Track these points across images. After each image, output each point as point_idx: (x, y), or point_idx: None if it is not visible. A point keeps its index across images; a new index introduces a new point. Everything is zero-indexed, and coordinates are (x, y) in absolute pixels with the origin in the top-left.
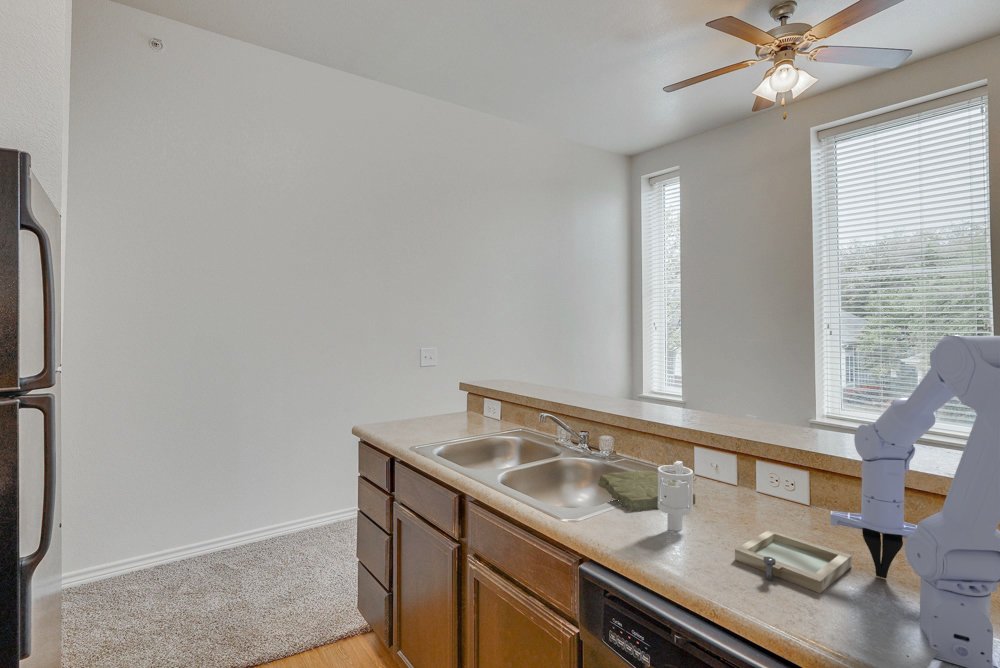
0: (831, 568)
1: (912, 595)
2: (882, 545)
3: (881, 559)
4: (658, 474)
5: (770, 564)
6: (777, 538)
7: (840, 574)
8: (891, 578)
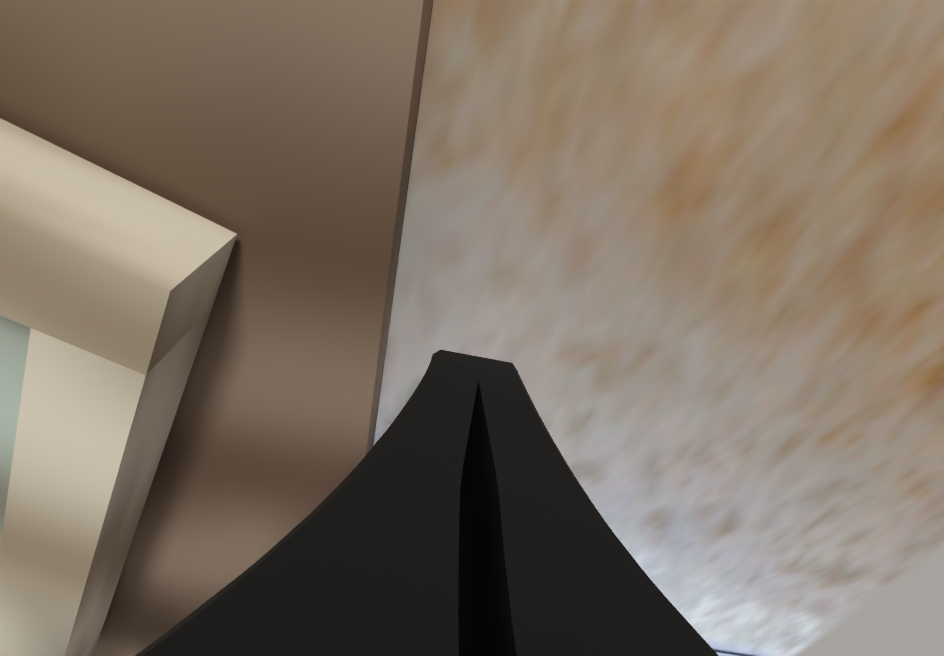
0: (53, 603)
1: (655, 389)
2: (491, 638)
3: (485, 428)
4: None
5: None
6: None
7: (157, 453)
8: (622, 139)
